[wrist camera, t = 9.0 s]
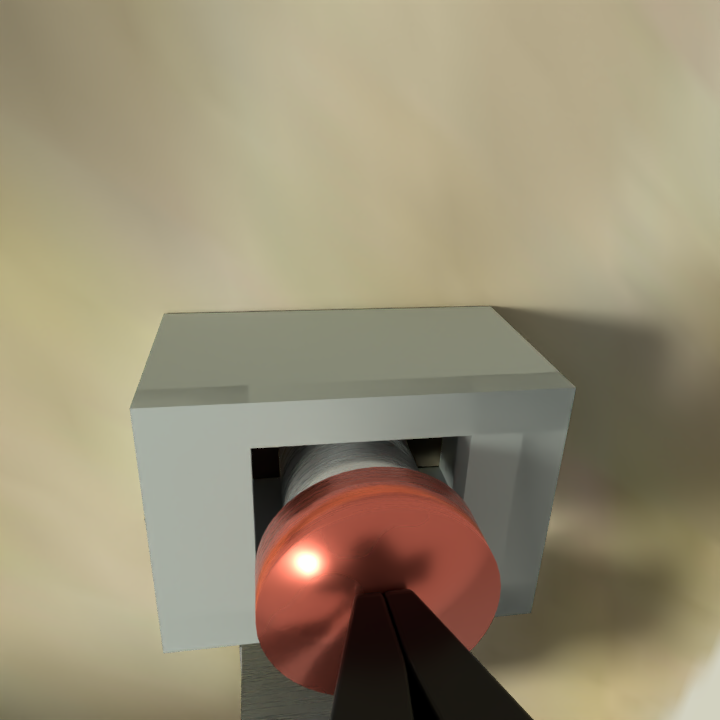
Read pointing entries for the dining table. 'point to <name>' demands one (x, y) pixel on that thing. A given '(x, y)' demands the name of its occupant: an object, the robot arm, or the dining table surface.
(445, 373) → the button housing
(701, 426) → the dining table surface
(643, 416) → the dining table surface
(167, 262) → the dining table surface
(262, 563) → the red plunger button
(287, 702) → the carriage
